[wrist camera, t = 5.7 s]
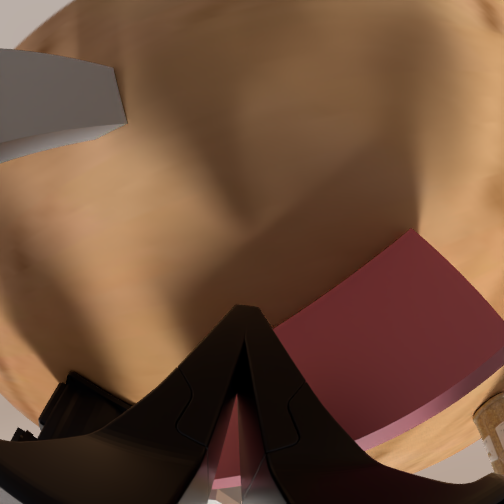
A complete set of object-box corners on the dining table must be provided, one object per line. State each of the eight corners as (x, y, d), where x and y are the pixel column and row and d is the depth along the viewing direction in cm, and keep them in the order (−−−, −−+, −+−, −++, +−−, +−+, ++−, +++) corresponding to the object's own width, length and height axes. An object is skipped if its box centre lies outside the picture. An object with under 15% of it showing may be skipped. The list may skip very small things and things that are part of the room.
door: (242, 383, 14) (230, 495, 8) (214, 364, 13) (191, 482, 7) (429, 262, 10) (515, 368, 4) (411, 228, 10) (515, 335, 4)
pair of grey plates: (251, 417, 16) (244, 517, 9) (222, 419, 16) (208, 515, 10) (117, 63, 8) (-41, 38, 1) (78, 86, 8) (-74, 94, 2)
